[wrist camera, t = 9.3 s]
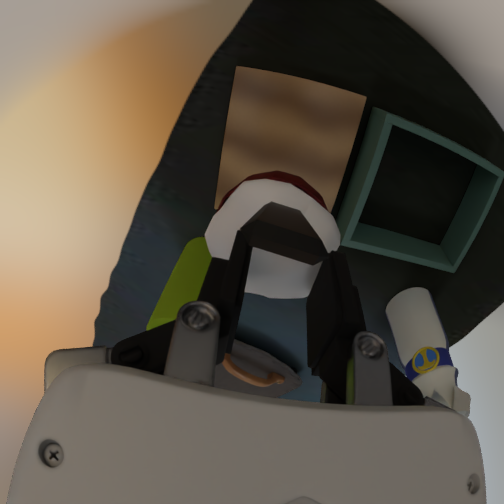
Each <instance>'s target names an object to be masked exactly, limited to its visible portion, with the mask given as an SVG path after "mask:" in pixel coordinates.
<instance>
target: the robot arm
mask: <svg viewBox="0 0 504 504" xmlns="http://www.w3.org/2000/svg"><path fill="white" fill-rule="evenodd" d="M252 249H253V247H252V246H249V245H248V243H247V241H246V239H245V237H244V235H243V234H242V232H241V230H237V233H236V237H235V240H234V244H233V247H232V251H231V254H230V258H229V260H227V259H222V258H217V257H212V259H211V262H210V264H209V267H208V270H207V273H206V276H205V278H204V281H203V284H202V287H201V290H200V293H199V296H198V298H197V301H190V302H188V303H186V304H184V305H183V306H182V307H181V308H180V309H179V311H178V313H177V317H176V319H175V320H173V321H170V322H168V323H165V324H163V325H160V326H158V327H155V328H153V329H150V330H147V331H145V332H142V333H140V334H137V335H135V336H132V337H129V338H127V339H124V340H122V341H120V342H118V343H117V344H116V345H115V346H114V347H113V348H106V346H95V347H85V348H72V349H59V350H56V351H53V352H52V353H50V354H49V355H48V357H47V358H46V361H45V370H44V373H45V374H44V378H45V379H44V391H45V392H44V396H43V397H42V399H41V401H40V403H39V405H38V407H37V409H36V411H35V413H34V416H33V418H32V421H31V423H30V425H29V427H28V430H27V432H26V435H25V438H24V441H23V443H22V446H21V449H20V452H19V455H18V458H17V461H16V465H15V468H14V472H13V475H12V480H11V484H10V488H9V493H8V497H7V503H6V504H486V486H485V474H484V467H483V459H482V453H481V449H480V444H479V440H478V436H477V433H476V430H475V428H474V426H473V424H472V422H471V421H470V420H469V419H468V418H467V417H466V416H465V415H463V414H461V413H459V412H457V411H455V410H453V409H451V408H449V407H447V406H445V405H443V404H441V403H439V402H437V401H435V400H434V399H432V398H430V397H428V396H426V397H425V398H423V394H422V392H421V390H420V389H419V388H418V387H417V386H416V385H415V384H414V383H413V382H412V381H410V380H409V379H408V378H407V377H406V376H405V375H404V374H403V373H402V372H400V371H399V370H398V369H397V368H396V367H395V366H394V365H393V364H391V363H390V362H389V357H388V349H387V345H386V343H385V342H384V340H383V339H382V338H381V337H380V336H379V335H377V334H376V333H373V332H370V331H366V326H365V321H364V316H363V311H362V307H361V302H360V298H359V293H358V289H357V287H356V286H354V285H352V281H351V276H350V272H349V268H348V264H347V260H346V256H345V253H342V252H338V251H333V250H332V251H331V252H330V253H328V254H329V256H330V257H329V258H327V259H325V260H323V262H322V264H321V267H320V269H319V271H318V274H317V276H316V279H315V281H314V284H313V286H312V288H311V291H310V293H309V295H308V298H307V303H306V311H307V353H308V367H310V368H312V375H314V376H319V377H320V378H321V379H322V380H323V382H322V388H321V399H320V403H316V402H306V401H296V400H288V399H280V398H273V397H266V396H259V395H253V394H247V393H241V392H236V391H230V390H225V389H220V388H215V387H214V379H215V369H216V365H218V364H220V363H222V362H223V361H224V357H225V353H227V354H231V351H232V347H233V342H234V338H235V333H236V329H237V325H238V320H239V316H240V311H241V307H242V302H243V297H244V292H245V286H246V281H247V276H248V270H249V265H250V260H251V254H252Z"/></svg>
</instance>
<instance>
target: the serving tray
mask: <svg viewBox="0 0 504 504" xmlns="http://www.w3.org/2000/svg"><path fill="white" fill-rule="evenodd" d="M301 384H302V380H301V378H300V377H299V375H298V374H297V371H296V370H295V368H293V367H291V368H290V367H289V366H288V365H287V364H285V363H283V362H281V361H280V360H278V359H277V358H275V357H274V356H272V355H271V354H269V353H267V352H265V351H263V350H261V349H258V348H256V347H254V346H252V345H248V344H246V343H243V342H241V341H238V340H236V339H234V342H233V347H232V351H231V354H227V353H225V357H224V361H223V362H222V363H220V364H218V365H216V369H215V379H214V387H215V388H220V389H225V390H230V391H236V392H241V393H247V394H253V395H259V396H266V397H273V398H277V397H279V396H281V395H283V394H286V393H288V392H289V391H292V390H294V389H296V388H298V387H299V386H301Z"/></svg>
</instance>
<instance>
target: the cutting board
mask: <svg viewBox="0 0 504 504" xmlns="http://www.w3.org/2000/svg"><path fill="white" fill-rule="evenodd" d="M366 98H367V97H365V96H362V95H359V94H356V93H353V92H350V91H347V90H344V89H340V88H337V87H333V86H330V85H326V84H323V83H319V82H315V81H311V80H307V79H303V78H299V77H295V76H290V75H286V74H281V73H276V72H271V71H265V70H260V69H254V68H247V67H241V66H236V71H235V76H234V82H233V88H232V93H231V99H230V105H229V111H228V117H227V123H226V129H225V136H224V142H223V149H222V156H221V163H220V170H219V177H218V184H217V191H216V199H215V207H214V209H218V207H219V205H220V203H221V200H222V198H223V197H224V196H225V195H226V194H227V192H228V191H230V190H231V189H232V188H234V187H235V186H236V185H238V184H239V183H240V182H242V181H243V180H244V179H246V178H247V177H248V176H251V175H253V174H259V173H264V172H270V171H276V170H279V171H282V172H286V173H290V174H293V175H297V176H300V177H301V178H303V179H304V180H305V181H306V182H307V183H308V184H310V185H311V186H312V187H313V188H314V189H315V190H316V191H318V192H319V193H320V194H321V196H322V197H323V199H324V202H325V204H326V207H327V209H328V212H329V213H330V214H331V211H332V208H333V205H334V202H335V199H336V196H337V193H338V190H339V187H340V184H341V181H342V178H343V175H344V172H345V169H346V166H347V163H348V159H349V156H350V153H351V150H352V147H353V143H354V140H355V137H356V133H357V130H358V127H359V123H360V120H361V116H362V113H363V109H364V105H365V102H366Z"/></svg>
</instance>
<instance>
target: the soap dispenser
mask: <svg viewBox="0 0 504 504" xmlns="http://www.w3.org/2000/svg"><path fill="white" fill-rule="evenodd" d="M211 259H212V256H211V254H210V252H209V249H208V246H207V242H206V239H205V237H198V238H194V239H192V240H190V241H189V242H188V243H187V244H186V246H185V248H184V250H183V252H182V254H181V256H180V258H179V260H178V262H177V264H176V266H175V268H174V270H173V272H172V274H171V276H170V278H169V280H168V282H167V284H166V286H165V288H164V290H163V292H162V294H161V297H160V299H159V301H158V303H157V305H156V307H155V309H154V312H153V314H152V316H151V318H150V320H149V322H148V325H147V330H150V329H153V328H155V327H158V326H160V325H163V324H165V323H168V322H170V321H173V320H175V319H176V317H177V313H178V311H179V309H180V308H181V307H182V306H183V305H184V304H186V303H188V302H190V301H197V298H198V296H199V293H200V290H201V287H202V284H203V281H204V278H205V276H206V273H207V270H208V267H209V264H210V262H211Z"/></svg>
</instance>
